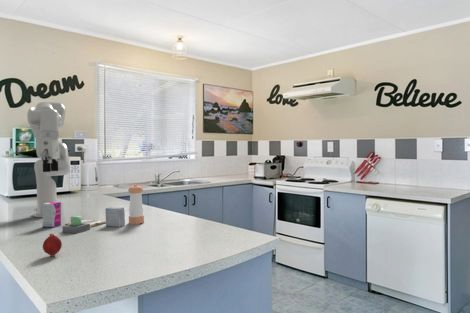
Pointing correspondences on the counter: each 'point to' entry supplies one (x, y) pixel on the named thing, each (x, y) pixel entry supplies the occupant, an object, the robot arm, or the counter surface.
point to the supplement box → (51, 214)
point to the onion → (52, 245)
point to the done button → (76, 221)
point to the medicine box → (115, 216)
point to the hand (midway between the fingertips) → (50, 171)
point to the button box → (75, 228)
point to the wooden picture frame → (91, 222)
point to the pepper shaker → (136, 205)
